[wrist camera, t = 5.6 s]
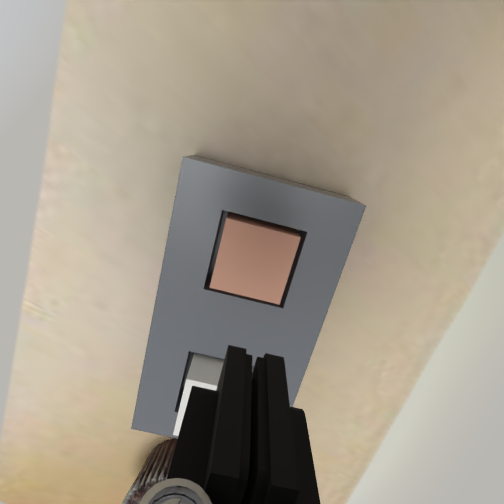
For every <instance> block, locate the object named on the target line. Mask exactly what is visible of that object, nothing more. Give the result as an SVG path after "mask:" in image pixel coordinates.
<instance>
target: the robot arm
mask: <svg viewBox="0 0 504 504" xmlns="http://www.w3.org/2000/svg"><path fill="white" fill-rule="evenodd" d="M246 352H247V351H246V349H245V348H241V347H236V346H232V345H228V348H227V351H226V355H225V359H224V363H223V367H222V370H221V374H220V378H219V382H218V386H217V389H216V391H215V390H210V389H206V388H201V387H197V386H192V388H191V392H190V395H189V399H188V403H187V406H186V410H185V414H184V417H183V421H182V425H181V428H180V432H179V436H178V439H177V443H176V447H175V450H174V454H173V458H172V461H171V465H170V469H169V472H168V476H167V479H166V480H164V481H162V482H160V483H157V484H155V485H154V486H153V487H152V488H151V489H149V490H148V491H147V492H146V494H145V495H144V496H143V498H142V499H141V501H140V502H139V504H320V499H319V493H318V487H317V481H316V476H315V470H314V464H313V458H312V452H311V446H310V440H309V435H308V429H307V423H306V417H305V413H304V411H303V410H302V409H298V408H294V407H290V403H289V395H288V386H287V378H286V369H285V361H284V357H281V356H276V355H272V354H267V353H265V355H264V357H263V358H262V357H257V359H256V362H255V365H254V369H253V372H252V359H253V357H252V355H249V354H246Z"/></svg>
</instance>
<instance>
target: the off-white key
mask: <svg viewBox="0 0 504 504" xmlns="http://www.w3.org/2000/svg"><path fill="white" fill-rule="evenodd" d="M223 363H224V360H223V359H218V358H214V357H210V356H205V355H201V354H197V353H194V355H193V358H192V362H191V365H190V368H189V372H188V375H187V378H186V382H185V386H184V391H183V395H182V399H181V403H180V407H179V411H178V416H177V420H176V424H175V428H174V432H173V435H175V436H179V432H180V428H181V425H182V421H183V417H184V414H185V410H186V406H187V403H188V399H189V395H190V392H191V388H192V386H197V387H201V388H206V389H210V390H215V391H216V389H217V386H218V382H219V378H220V374H221V370H222V367H223ZM253 369H254V367H253V366H252V372H253Z"/></svg>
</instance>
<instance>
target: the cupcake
mask: <svg viewBox="0 0 504 504" xmlns="http://www.w3.org/2000/svg"><path fill="white" fill-rule="evenodd" d="M176 443H177V438H175V439H171V440H166V441H165V442H163V443H161V444H159V445H158V446H157V447H156V448H154V449H153V451H152V452H151V454H150V456H149V457H148V459H147V461H146V463H145V464H144V466H143V468H142V470H141V471H140V473H139V475H138V477H137V478H136V480H135V482H134V483H133V485H132V486H131V488H130V490H129V491H128V493H127V495H126V496H125V499H124V500H123V502H122V504H139V502H140V501H141V499H142V498H143V496H144V495H145V494H146V492H147V491H148V490H149V489H151V488H152V487H153V486H154V485H155V484H157V483H160V482H162V481H164V480H166V479H167V476H168V472H169V469H170V465H171V461H172V458H173V454H174V450H175V447H176Z"/></svg>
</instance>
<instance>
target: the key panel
mask: <svg viewBox="0 0 504 504" xmlns="http://www.w3.org/2000/svg"><path fill="white" fill-rule="evenodd" d="M365 207H366V206H365V205H364V204H362V203H360V202H358V201H356V200H354V199H352V198H351V197H348V196H344V195H341V194H337V193H333V192H329V191H326V190H322V189H318V188H315V187H311V186H307V185H303V184H300V183H296V182H292V181H288V180H285V179H281V178H277V177H274V176H270V175H266V174H262V173H259V172H255V171H251V170H247V169H244V168H240V167H236V166H233V165H229V164H225V163H221V162H218V161H214V160H210V159H206V158H203V157H199V156H195V155H193V156H185V157H183V159H182V164H181V170H180V175H179V180H178V185H177V191H176V196H175V201H174V206H173V212H172V217H171V222H170V227H169V233H168V238H167V243H166V248H165V254H164V259H163V264H162V269H161V275H160V280H159V285H158V291H157V296H156V301H155V306H154V312H153V317H152V322H151V327H150V333H149V338H148V343H147V348H146V354H145V359H144V364H143V369H142V375H141V380H140V385H139V390H138V396H137V401H136V406H135V411H134V417H133V422H132V427H131V429H135V430H139V431H144V432H149V433H154V434H158V435H163V436H168V437H172V438H177V439H178V436H175V435H173V432H174V428H175V424H176V420H177V416H178V411H179V407H180V403H181V399H182V395H183V391H184V386H185V382H186V378H187V375H188V372H189V368H190V365H191V362H192V358H193V355H194V353H197V354H201V355H205V356H210V357H214V358H218V359H223V360H224V359H225V355H226V351H227V348H228V345H232V346H236V347H241V348H245V349H246V351H247V352H246V354H249V355H252V357H253V359H252V366H253V367H254V365H255V362H256V359H257V357H262V358H263V357H264V355H265V353H267V354H272V355H276V356H281V357H284V361H285V369H286V378H287V386H288V395H289V403H290V407H293V404H294V401H295V398H296V396H297V393H298V390H299V387H300V385H301V382H302V379H303V377H304V374H305V371H306V368H307V366H308V363H309V360H310V357H311V355H312V352H313V349H314V346H315V344H316V341H317V338H318V336H319V333H320V330H321V327H322V325H323V322H324V319H325V316H326V314H327V311H328V308H329V306H330V303H331V300H332V297H333V295H334V292H335V289H336V286H337V284H338V281H339V278H340V275H341V273H342V270H343V267H344V265H345V262H346V259H347V256H348V254H349V251H350V248H351V245H352V243H353V240H354V237H355V235H356V232H357V229H358V226H359V224H360V221H361V218H362V215H363V213H364V210H365ZM229 212H233V213H237V214H241V215H245V216H248V217H252V218H256V219H260V220H264V221H268V222H272V223H275V224H279V225H283V226H287V227H291V228H295V229H297V231H298V233H299V235H300V237H301V238H300V242H299V245H298V248H297V251H296V254H295V257H294V261H293V264H292V267H291V270H290V273H289V276H288V280H287V283H286V286H285V289H284V292H283V295H282V299H281V302H280V305H279V304H275V303H271V302H267V301H263V300H258V299H254V298H250V297H246V296H242V295H238V294H234V293H230V292H226V291H221V290H217V289H213V288H210V283H211V279H212V275H213V271H214V267H215V263H216V259H217V254H218V250H219V246H220V242H221V238H222V234H223V229H224V225H225V221H226V218H227V215H228V213H229Z"/></svg>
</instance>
